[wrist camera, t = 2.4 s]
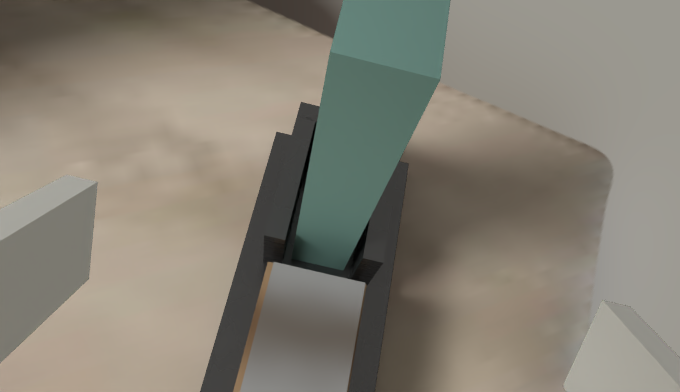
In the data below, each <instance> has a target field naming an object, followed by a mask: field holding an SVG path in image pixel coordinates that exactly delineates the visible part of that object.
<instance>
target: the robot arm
mask: <svg viewBox="0 0 680 392" xmlns="http://www.w3.org/2000/svg"><path fill="white" fill-rule="evenodd" d="M97 184H98V182H96V181H92V180H88V179H83V178H79V177H75V176H70V175H65V176H63V177H61V178H59V179H57V180H55V181H53V182H52V183H50V184H48V185H46V186H44V187H42V188H40V189H38V190H36V191H34V192H32V193H30V194H28V195H26V196H24V197H22V198H21V199H19V200H17V201H15V202H13V203H11V204H9V205H7V206H5V207H3V208H1V209H0V363H1V362H2V361H3V360H4V359H5V358H6V357H7V356H8V355H9V354H10V353H11V352H12V351H13V350H15V349H16V348H17V347H18V346H19V345H20V344H21V343H22V342H23V341H24V340H25V339H26V338H27V337H28V336H29V335H30V334H31V333H32V332H34V331H35V330H36V329H37V328H38V327H39V326H40V325H41V324H42V323H43V322H44V321H45V320H46V319H47V318H48V317H49V316H50V315H51V314H52V313H54V312H55V311H56V310H57V309H58V308H59V307H60V306H61V305H62V304H63V303H64V302H65V301H66V300H67V299H68V298H69V297H70V296H71V295H72V294H74V293H75V292H76V291H77V290H78V289H79V288H80V287H81V286H82V285H83V284H84V283H85V282H86V281H87V280H88V279H89V271H90V260H91V249H92V239H93V228H94V217H95V206H96V195H97ZM563 387H564V389H565V391H566V392H680V357H679V356H678V355H677V354H676V353H675V352H674V351H673V350H672V349H671V348H670V347H669V346H668V345H667V344H666V343H665V342H664V341H663V340H662V339H661V338H660V337H659V336H658V335H657V333H656V332H655V331H654V330H652V328H651V327H650V326H649V325H648V324H647V323H646V322H645V321H644V320H643V319H642V318H641V317H640V316H639V315H638V314H637V313H636V312H635V311H634V310H633V309H632V308H631V307H629V306H626V305H621V304H617V303H613V302H608V301H604V300H602V302H601V304H600V306H599V308H598V311H597V313H596V315H595V317H594V319H593V322H592V324H591V326H590V328H589V330H588V332H587V334H586V337H585V339H584V341H583V343H582V345H581V347H580V350H579V352H578V354H577V356H576V358H575V360H574V363H573V365H572V367H571V369H570V371H569V373H568V376H567V378H566V380H565V382H564V384H563Z"/></svg>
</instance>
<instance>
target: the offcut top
mask: <svg viewBox="0 0 680 392" xmlns="http://www.w3.org/2000/svg"><path fill="white" fill-rule="evenodd" d="M364 289H365V283H364V282H360V281H355V280H351V279H347V278H342V277H338V276H334V275H329V274H325V273H321V272H316V271H312V270H308V269H303V268H299V267H294V266H290V265H286V264H281V263H277V262H274V263H273V267H272V271H271V274H270V278H269V282H268V286H267V290H266V294H265V297H264V301H263V305H262V309H261V313H260V317H259V320H258V324H257V328H256V332H255V336H254V340H253V343H252V347H251V351H250V355H249V359H248V362H247V366H246V370H245V374H244V378H243V382H242V385H241V389H240V392H347V388H348V382H349V376H350V370H351V365H352V359H353V353H354V347H355V341H356V336H357V330H358V324H359V318H360V312H361V306H362V301H363V295H364Z"/></svg>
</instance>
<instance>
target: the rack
mask: <svg viewBox="0 0 680 392" xmlns="http://www.w3.org/2000/svg"><path fill="white" fill-rule="evenodd" d="M319 108H320V107H319V106H315V105H311V104H307V103H303V102H301V104H300V108H299V111H298V115H297V118H296V122H295V126H294V129H293V133H292V135H288V134H284V133H280V132H276V136H275V139H274V143H273V146H272V149H271V153H270V156H269V160H268V163H267V166H266V170H265V173H264V177H263V180H262V183H261V187H260V190H259V194H258V197H257V200H256V204H255V207H254V211H253V214H252V217H251V221H250V224H249V228H248V231H247V234H246V238H245V241H244V245H243V248H242V251H241V255H240V258H239V262H238V265H237V268H236V272H235V275H234V279H233V282H232V285H231V289H230V292H229V296H228V299H227V302H226V306H225V309H224V313H223V316H222V319H221V323H220V326H219V330H218V333H217V336H216V340H215V343H214V347H213V350H212V353H211V357H210V360H209V364H208V367H207V370H206V374H205V377H204V381H203V384H202V387H201V391H200V392H233V390H234V386H235V383H236V379H237V375H238V371H239V368H240V364H241V360H242V356H243V353H244V349H245V345H246V341H247V338H248V334H249V330H250V326H251V323H252V319H253V315H254V311H255V308H256V304H257V300H258V296H259V293H260V289H261V285H262V281H263V278H264V274H265V270H266V266H267V263H268V262H272V263H274V262H277V263H281V264H286V265H290V266H294V267H299V268H303V269H308V270H312V271H316V272H321V273H325V274H329V275H334V276H338V277H342V278H347V279H351V280H355V281H360V282H364V283H365V284H367V286H366V292H365V297H364V303H363V309H362V315H361V321H360V327H359V333H358V338H357V344H356V350H355V356H354V362H353V368H352V374H351V379H350V385H349V391H348V392H375V386H376V380H377V373H378V366H379V360H380V353H381V346H382V339H383V333H384V326H385V319H386V312H387V306H388V299H389V292H390V286H391V279H392V272H393V265H394V259H395V252H396V245H397V238H398V232H399V225H400V218H401V212H402V205H403V198H404V191H405V185H406V178H407V171H408V163H404V162H400V160H399V162H398V164H397V166H396V168H395V170H394V172H393V174H392V176H391V178H390V180H389V181H388V183H387V185H386V187H385V189H384V191H383V193H382V195H381V197H380V199H379V201H378V203H377V205H376V207H375V209H374V211H373V213H372V215H371V217H370V219H369V221H368V223H367V225H366V227H365V229H364V231H363V233H362V235H361V237H360V239H359V241H358V243H357V245H356V247H355V249H354V250H353V252H352V254H351V256H350V258H349V260H348V262H347V264H346V266H345V268H344V270H338V269H334V268H330V267H325V266H321V265H317V264H312V263H308V262H304V261H299V260H295V259H291V258H292V252H293V247H294V242H295V236H296V231H297V226H298V220H299V215H300V210H301V204H302V199H303V194H304V188H305V183H306V178H307V172H308V167H309V162H310V156H311V151H312V146H313V140H314V135H315V130H316V124H317V119H318V114H319Z"/></svg>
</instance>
